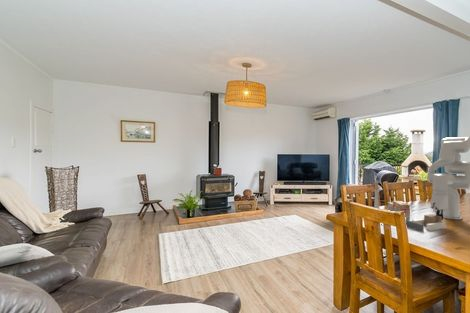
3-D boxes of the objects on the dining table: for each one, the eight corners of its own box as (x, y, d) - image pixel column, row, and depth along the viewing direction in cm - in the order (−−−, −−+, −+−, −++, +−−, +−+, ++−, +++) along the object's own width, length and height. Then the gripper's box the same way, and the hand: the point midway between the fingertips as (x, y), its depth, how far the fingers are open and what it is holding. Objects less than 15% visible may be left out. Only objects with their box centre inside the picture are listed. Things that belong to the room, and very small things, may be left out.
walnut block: (431, 224, 159) (431, 214, 159) (441, 227, 154) (441, 216, 154) (424, 225, 157) (424, 215, 157) (433, 228, 152) (434, 217, 152)
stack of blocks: (387, 213, 188) (387, 198, 188) (396, 213, 187) (396, 198, 186) (400, 221, 167) (400, 204, 167) (410, 221, 166) (410, 204, 165)
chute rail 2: (441, 227, 153) (441, 221, 153) (445, 228, 151) (445, 222, 151) (426, 229, 149) (426, 224, 149) (429, 230, 147) (429, 224, 147)
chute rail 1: (427, 223, 162) (427, 218, 162) (430, 223, 160) (430, 218, 160) (412, 225, 158) (412, 220, 158) (415, 226, 156) (415, 220, 156)
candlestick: (367, 218, 174) (368, 178, 173) (388, 221, 166) (388, 179, 165) (364, 222, 164) (364, 180, 163) (385, 226, 156) (386, 181, 155)
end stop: (407, 226, 156) (407, 220, 156) (423, 230, 146) (423, 224, 146) (405, 226, 155) (406, 220, 155) (421, 231, 146) (421, 224, 146)
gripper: (441, 191, 163) (441, 217, 163) (425, 192, 158) (425, 219, 159) (454, 192, 155) (453, 220, 156) (438, 194, 151) (438, 222, 151)
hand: (439, 219), depth 157 cm, fingers closed
